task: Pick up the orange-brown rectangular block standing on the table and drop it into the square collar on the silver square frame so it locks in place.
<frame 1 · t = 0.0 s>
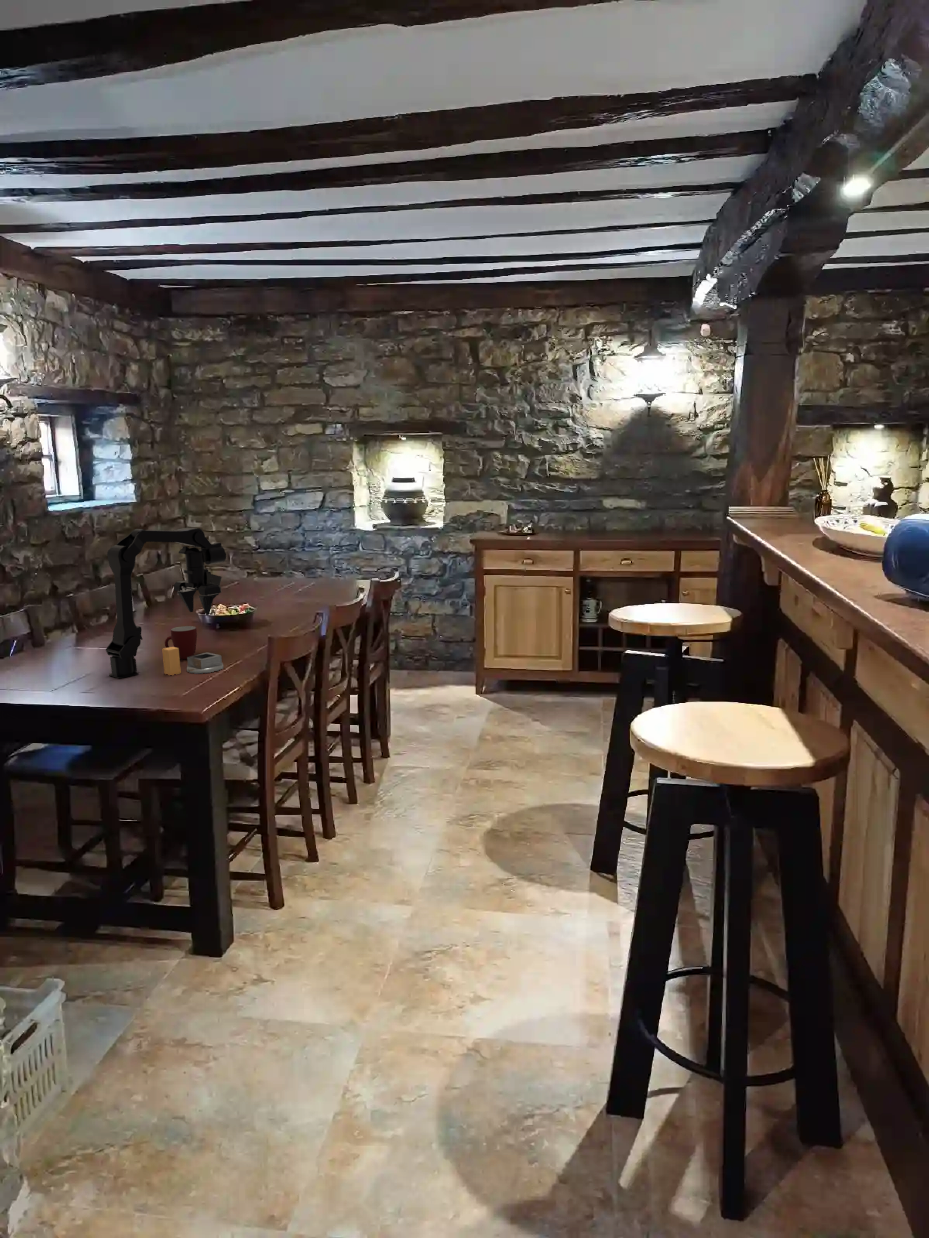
hand: (199, 613, 292), 15 cm above the table, tool pointing down, fingers open, 9 cm apart
orange-brown rectangular block: (172, 673, 274), on the table
silver square frame: (205, 669, 278), on the table
mug: (182, 658, 294), on the table
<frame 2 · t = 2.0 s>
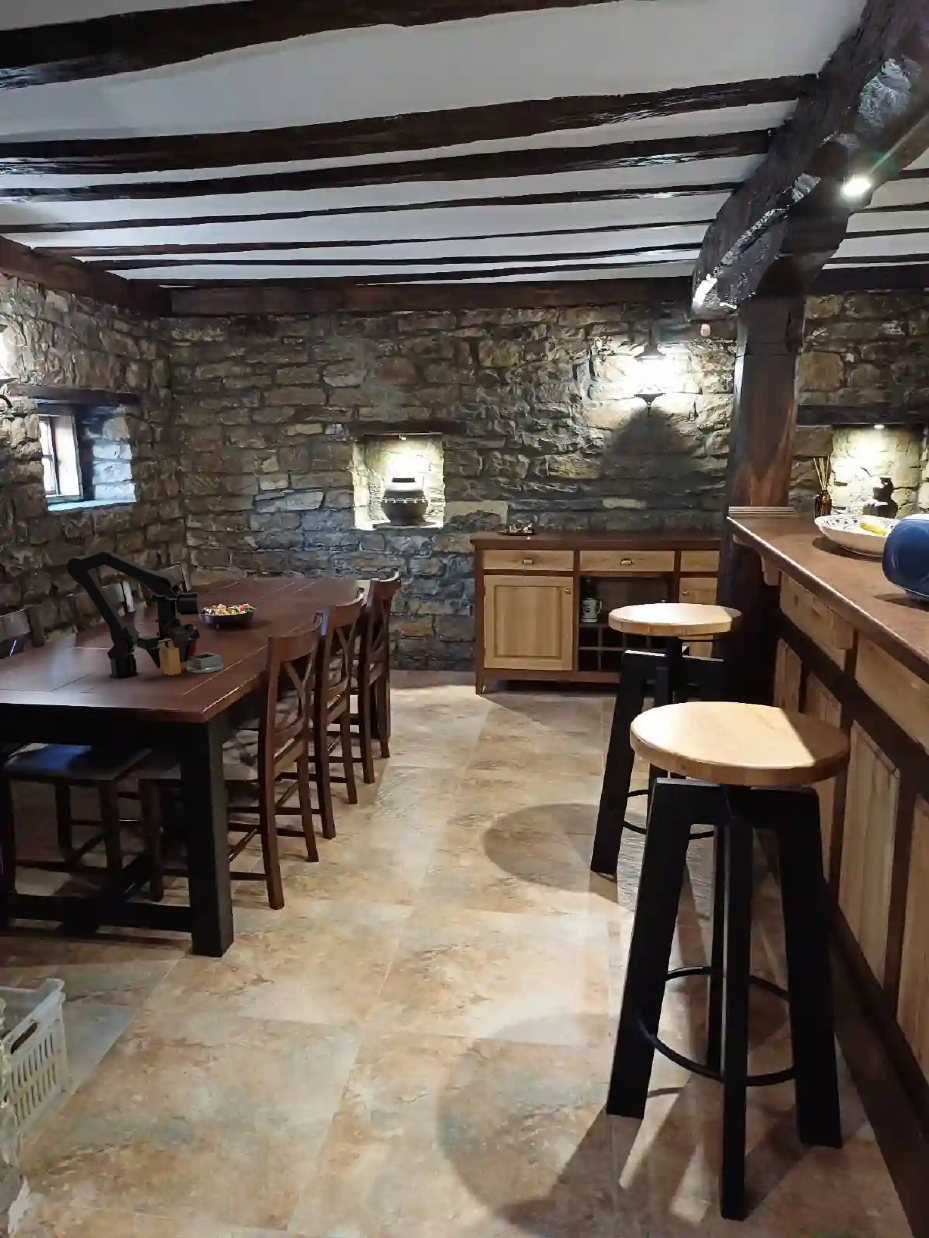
hand: (171, 665, 274), 3 cm above the table, tool pointing down, fingers open, 8 cm apart
nothing on the table moved.
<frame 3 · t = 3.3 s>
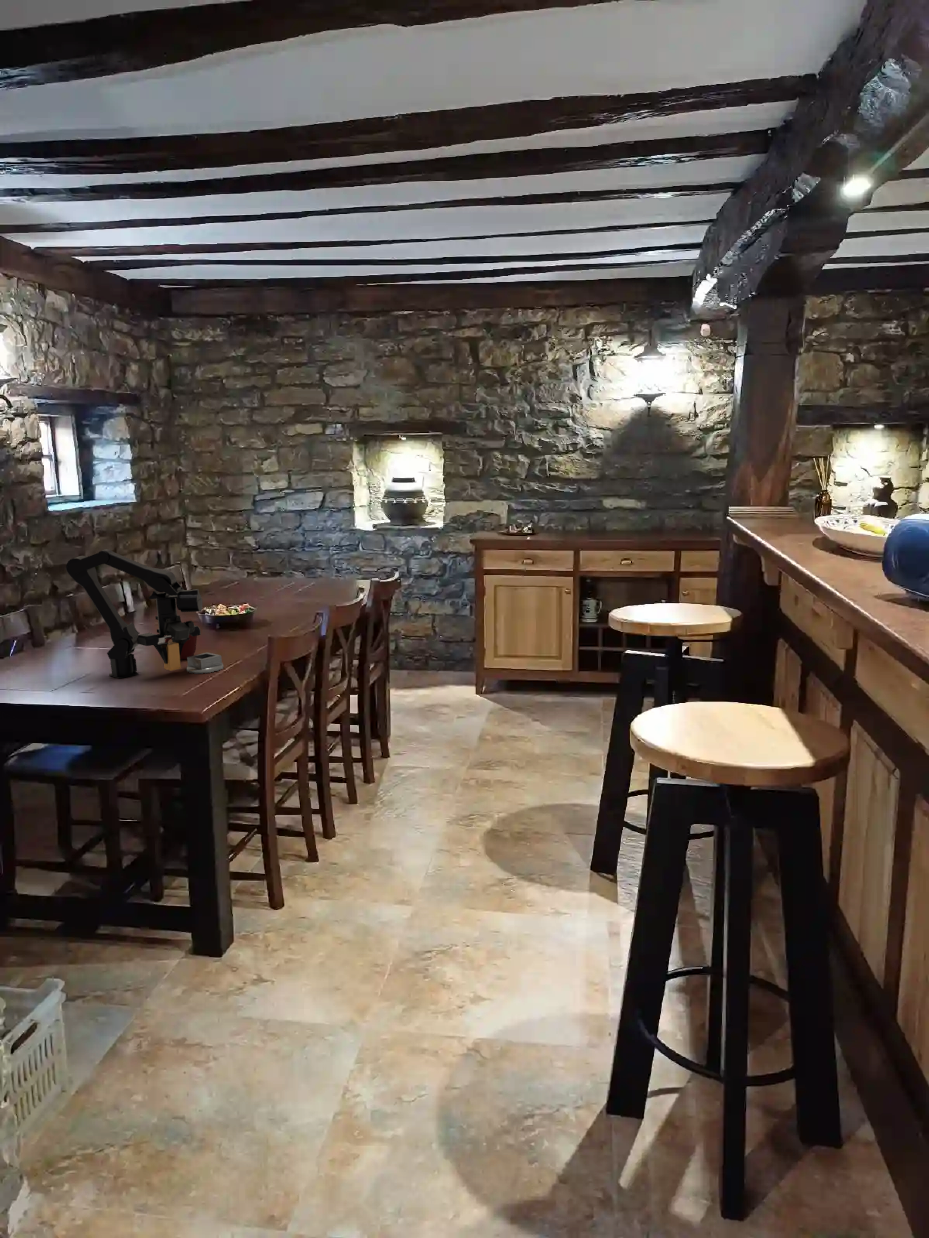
hand: (171, 662, 274), 4 cm above the table, tool pointing down, fingers closed on orange-brown rectangular block, 3 cm apart
orange-brown rectangular block: (172, 668, 274), point 2 cm above the table, touching gripper
everything else where it was.
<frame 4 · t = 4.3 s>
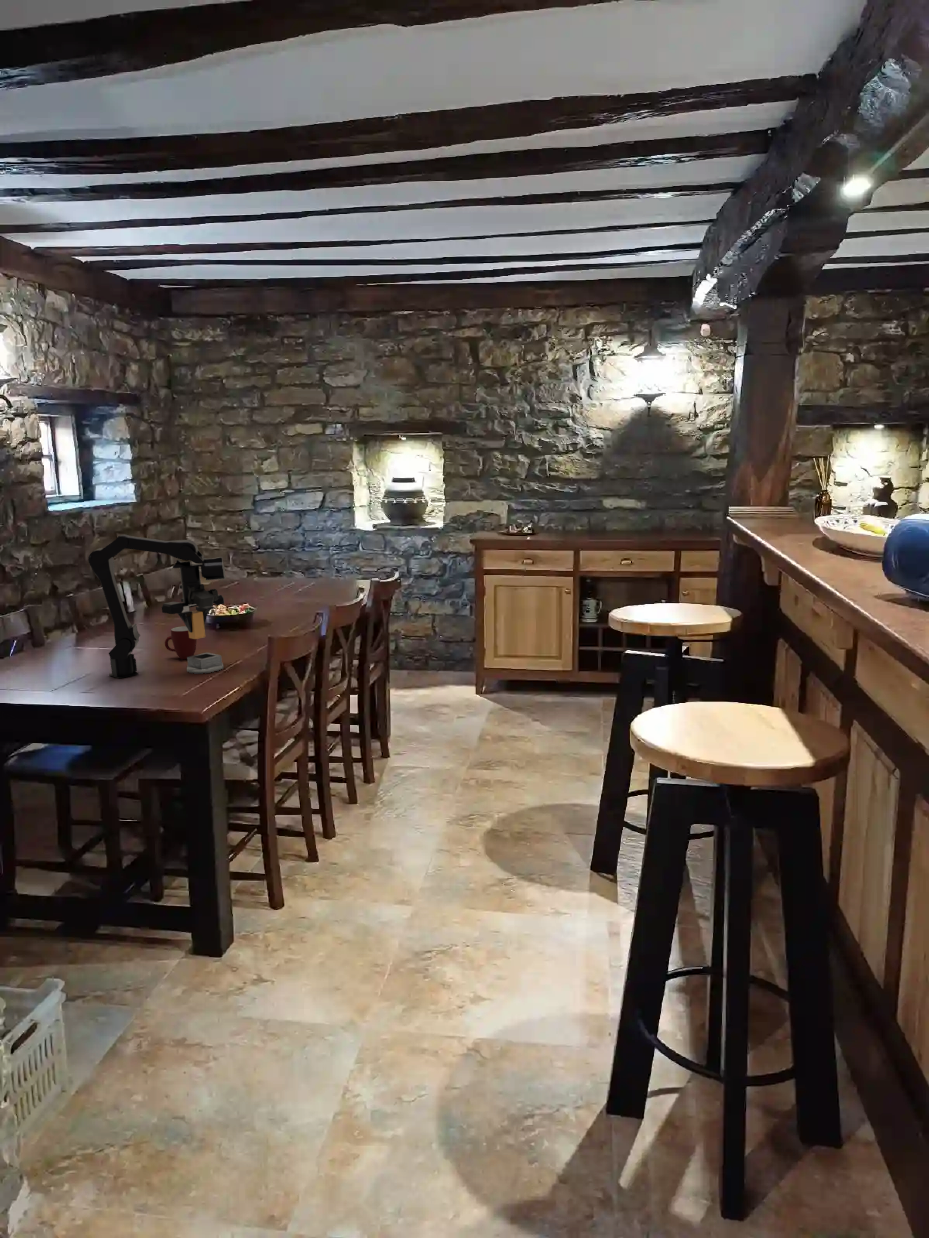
hand: (196, 631, 275), 12 cm above the table, tool pointing down, fingers closed on orange-brown rectangular block, 3 cm apart
orange-brown rectangular block: (197, 637, 275), point 10 cm above the table, touching gripper
everything else where it was.
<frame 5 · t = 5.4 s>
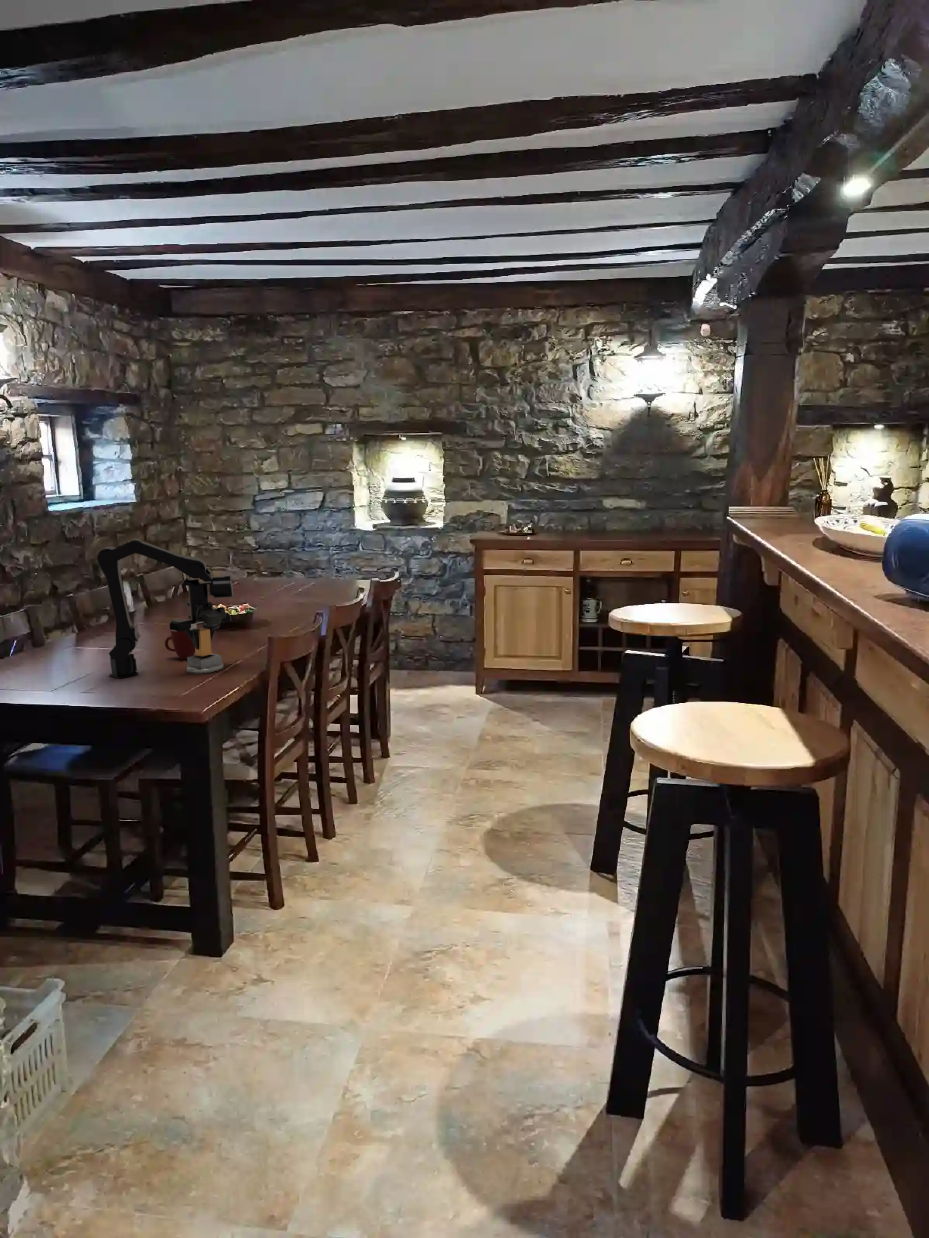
hand: (203, 648, 277), 7 cm above the table, tool pointing down, fingers closed on orange-brown rectangular block, 3 cm apart
orange-brown rectangular block: (203, 654, 277), point 5 cm above the table, touching gripper
everything else where it was.
when the fingers open (5 cm above the table, at t = 6.1 s): orange-brown rectangular block drops 2 cm, resting on silver square frame.
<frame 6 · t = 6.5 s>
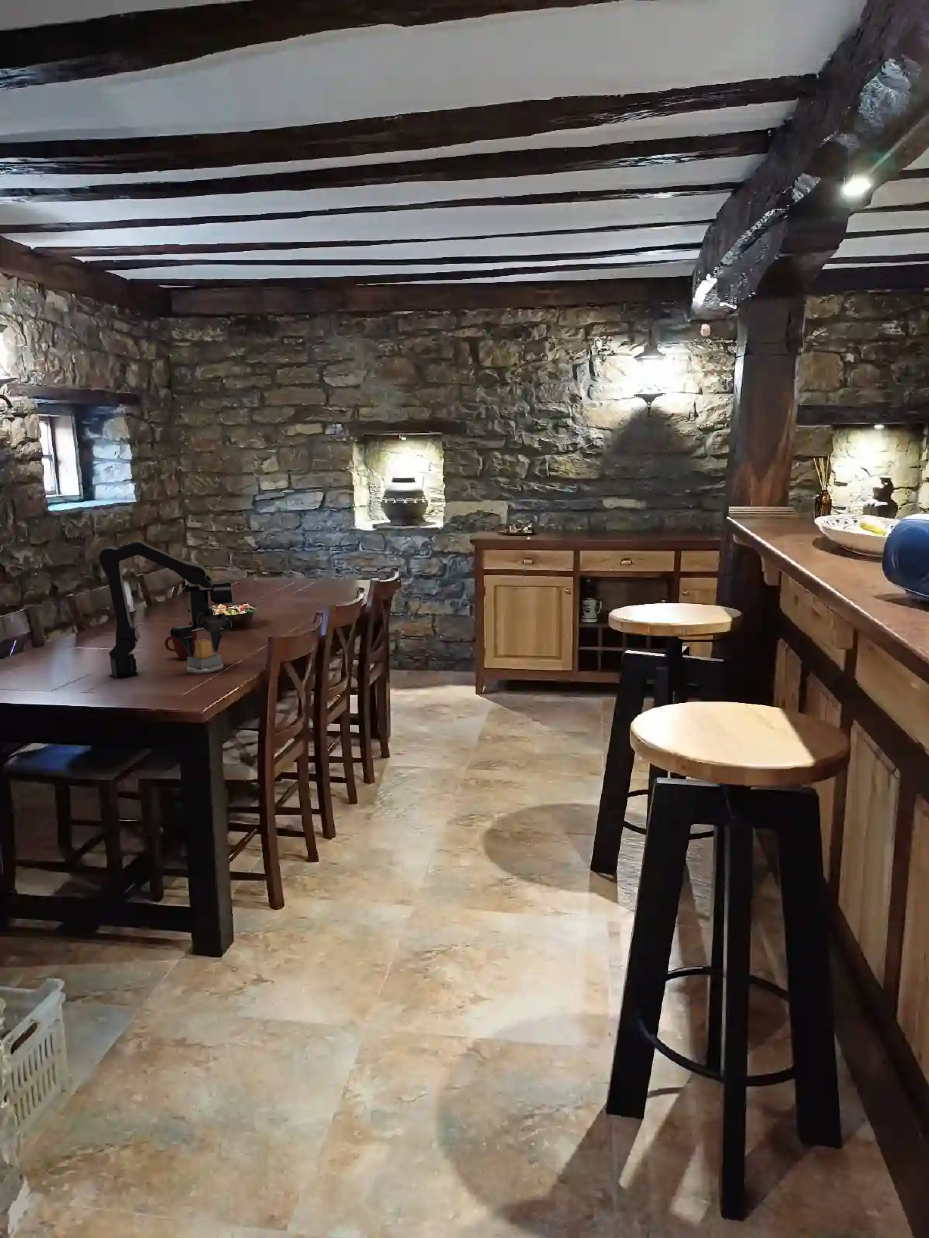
hand: (203, 654, 278), 5 cm above the table, tool pointing down, fingers open, 8 cm apart
orange-brown rectangular block: (204, 665, 278), point 1 cm above the table, touching silver square frame
everything else where it was.
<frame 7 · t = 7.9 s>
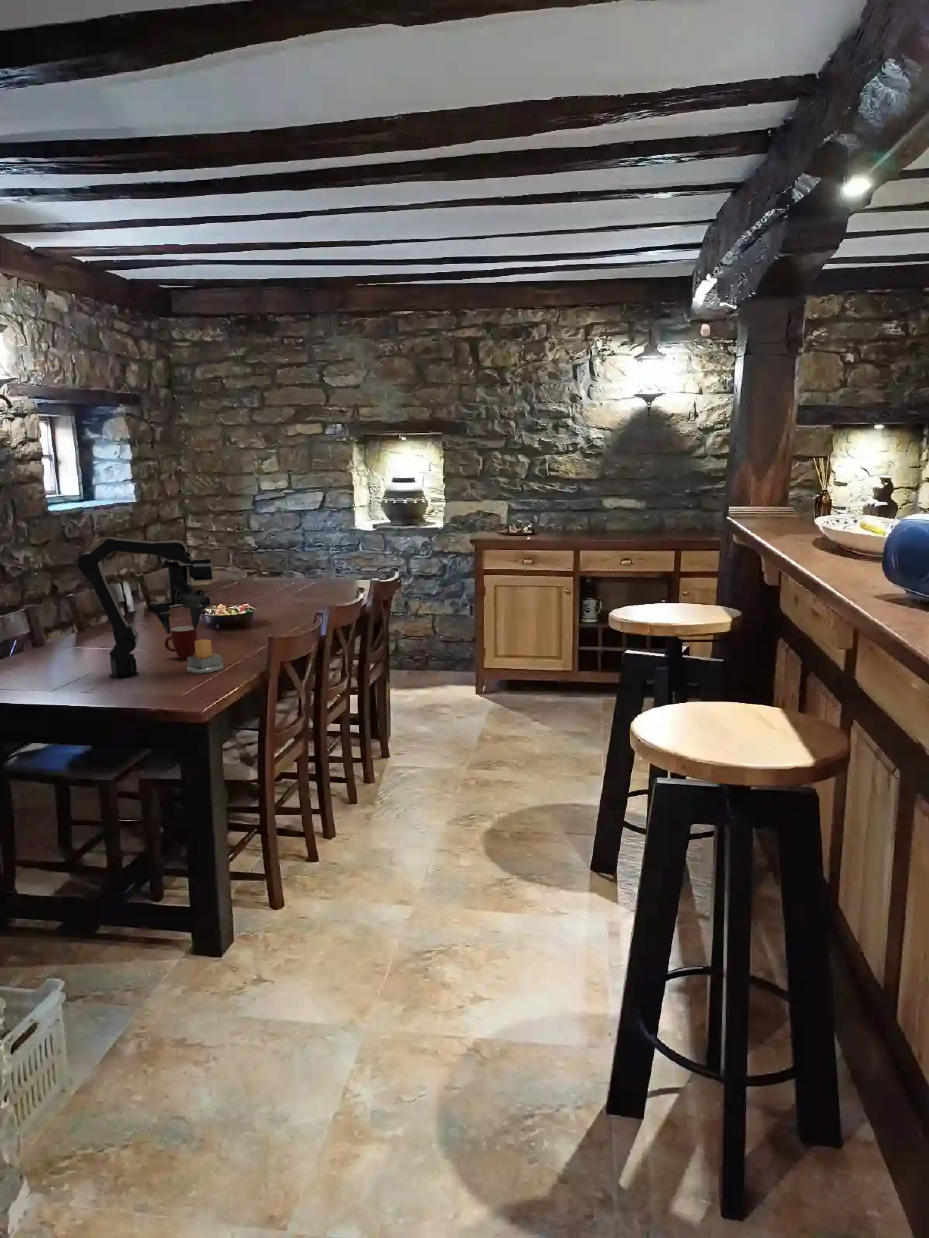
hand: (181, 631, 275), 12 cm above the table, tool pointing down, fingers open, 9 cm apart
nothing on the table moved.
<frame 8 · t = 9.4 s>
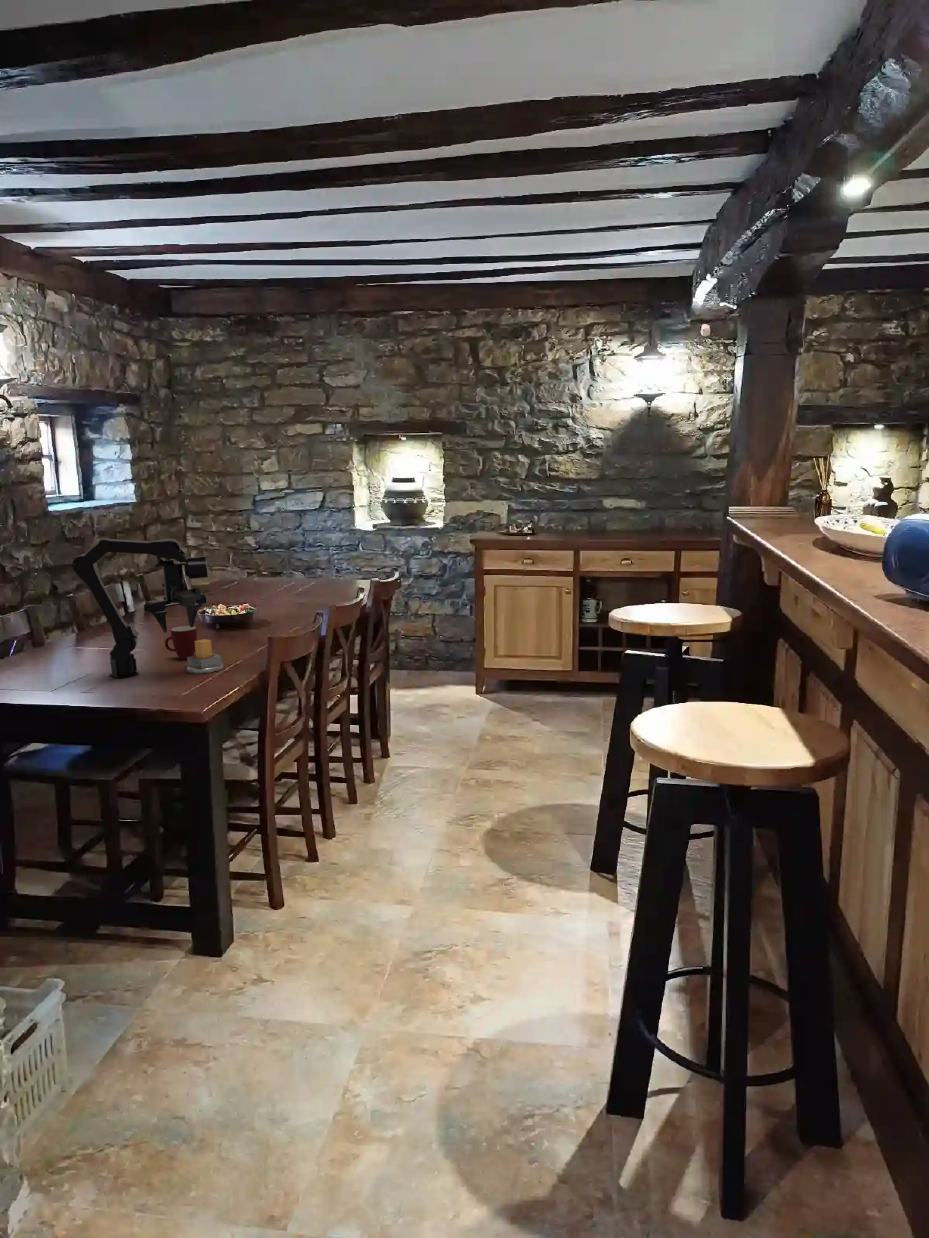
hand: (178, 629, 275), 13 cm above the table, tool pointing down, fingers open, 9 cm apart
nothing on the table moved.
at the end: orange-brown rectangular block 0.0 cm off-centre on the silver square frame, point 1.2 cm above the silver square frame's base; orange-brown rectangular block tilted 0°; the gripper is holding nothing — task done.
